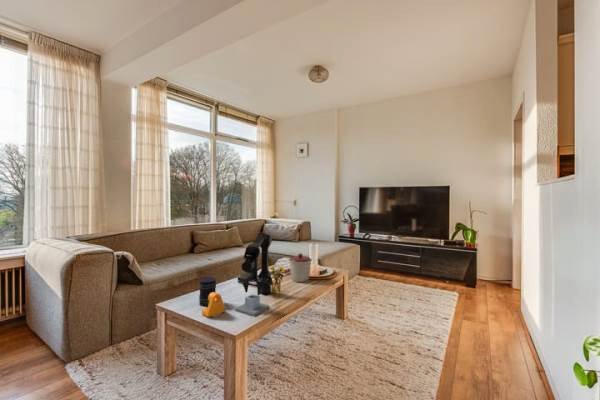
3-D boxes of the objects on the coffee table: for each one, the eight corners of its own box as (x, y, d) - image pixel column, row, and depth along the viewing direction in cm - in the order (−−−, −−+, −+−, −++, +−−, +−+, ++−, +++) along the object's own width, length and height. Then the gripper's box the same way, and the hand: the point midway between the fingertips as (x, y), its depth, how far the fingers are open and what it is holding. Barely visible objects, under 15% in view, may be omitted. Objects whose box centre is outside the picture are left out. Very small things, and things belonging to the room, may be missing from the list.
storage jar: (198, 307, 168) (198, 282, 168) (199, 301, 177) (199, 277, 177) (215, 305, 171) (216, 281, 170) (216, 299, 180) (216, 276, 180)
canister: (302, 275, 234) (303, 250, 233) (316, 281, 219) (316, 254, 218) (284, 279, 224) (284, 252, 223) (296, 285, 209) (297, 257, 208)
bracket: (218, 308, 166) (218, 288, 166) (225, 312, 162) (225, 291, 161) (201, 314, 158) (201, 293, 158) (208, 318, 154) (208, 296, 153)
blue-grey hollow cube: (245, 307, 165) (245, 297, 165) (251, 304, 170) (251, 294, 170) (252, 309, 162) (253, 299, 162) (259, 306, 167) (259, 296, 167)
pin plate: (235, 310, 163) (235, 301, 163) (251, 302, 175) (251, 294, 175) (253, 316, 156) (253, 306, 156) (269, 308, 168) (269, 298, 168)
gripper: (230, 267, 163) (230, 294, 163) (255, 273, 153) (255, 301, 154) (244, 263, 172) (244, 289, 173) (268, 268, 163) (268, 295, 163)
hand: (252, 293), depth 165 cm, fingers open, 9 cm apart
